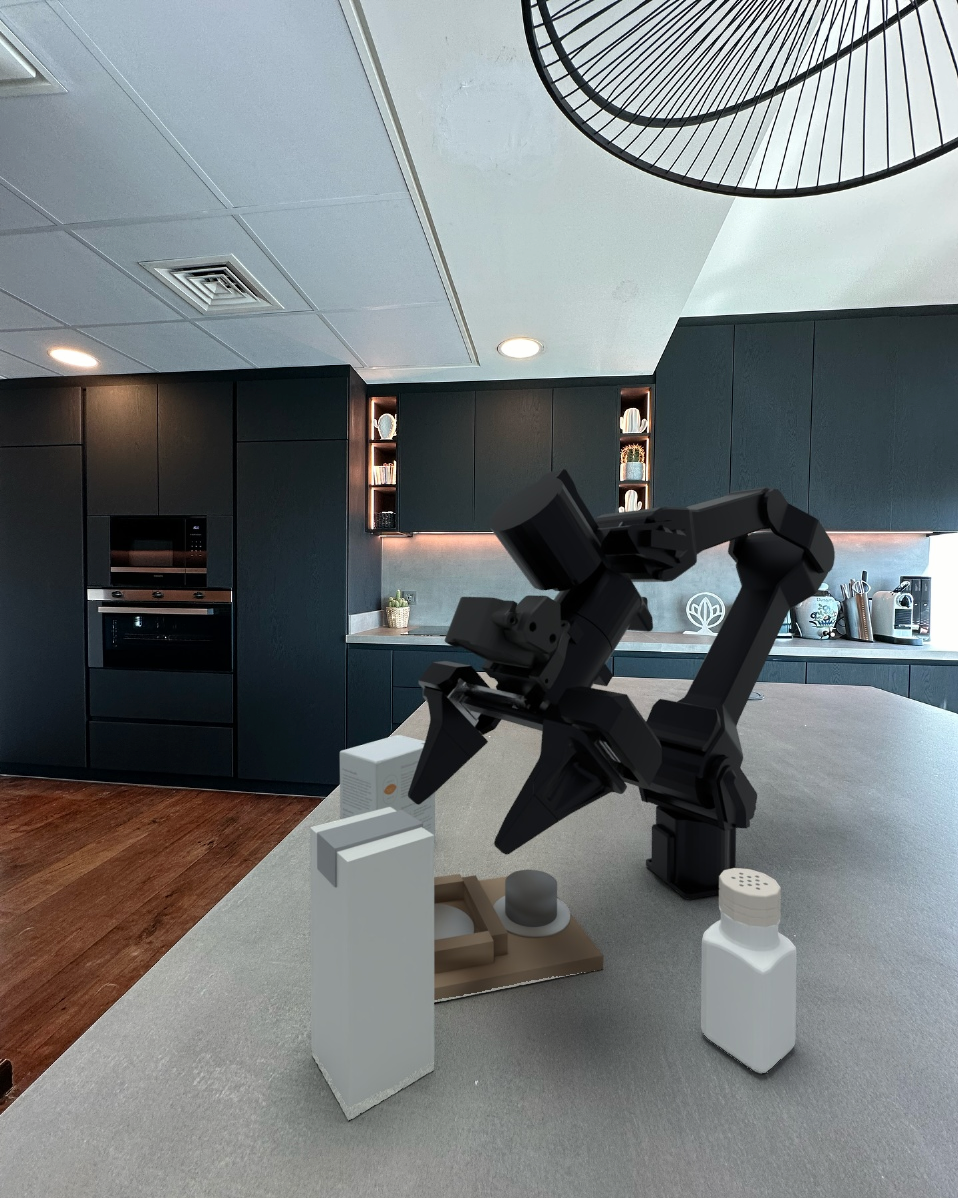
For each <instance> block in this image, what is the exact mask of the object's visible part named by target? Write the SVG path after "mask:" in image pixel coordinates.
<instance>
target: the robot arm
mask: <svg viewBox="0 0 958 1198" xmlns="http://www.w3.org/2000/svg"><path fill="white" fill-rule="evenodd" d="M488 526H489V528H490V530H491V531H492V533H493V534H494V535H495V537H496V538H497V540H498V541H499V542H500V544H501V545H502V547H504V549H505V551H506V552H507V554H509V556H510V558H511V559H512V560H513V562H514V563H515V565H516V566H517V568H518V569H519V570H520V571H521V573H522V574H523V576H524V577H525V578H526V579H527V581H528V582H529V584H530V585H531V586H532V587H533V588H534V589H535V590H540V591H550V590H553V591H555V592H558V593H557V594H556V596H555V597H554V599H553V598H551V597H549V596H547V595H525V596H523V598H522V599H521V600H520V601H519V602H516V601H514V600H503V599H501V598H498V597H485V596H460V599H459V600H458V604H457V605H456V609H455V611H454V614H453V617H452V619H451V623H450V625H449V628H448V629H447V633H446V636H445V637H444V643H445V644H447V645H449V646H451V647H453V648H458V647H460V648H462V649H464V650H466V651H468V652H470V653H472V654H473V655H476V656H477V657H480V658H482V659H484V660H485V661H484V663H482V665H481V669H482V670H483V672H485V673H486V675H487V676H488V677H489V678H491V679H494V680H495V681H496V682H497V684H496V685H495V689H494V688H491V687H490V686H489V684H488V683H487V682H486V681H485V680H484V678H483V677H482V676H481V675H480V674H479V672H478V671H476V669H475V667H473V665H470V664H464V663H458V662H452V661H447V660H443V661H435V662H432V663H430V665H429V666H428V667H427V669H426V670H425V671H424V672H423V674H422V675H421V676H420V678H419V679H418V680H417V681H418V685H419V686H420V687H421V688H422V698H423V699H424V700H425V702H426V703H427V706H428V712H429V719H430V720H429V726H428V730H427V733H426V737H425V740H424V741H425V743H424V746H423V749H422V752H421V755H420V758H419V761H418V764H417V767H416V770H415V773H414V776H413V779H412V782H411V785H410V788H409V791H408V797H409V798H410V799H411V800H412V801H413V802H414V803H415V804H417V805H419V804H421V803H422V802H424V801H425V800H426V799H427V798H429V797H430V796H431V795H432V794H433V793H435V794H436V792H437V791H438V790H439V789H440V788H441V787H442V786H443V785H445V784H446V783H447V782H448V781H449V780H450V779H451V778H452V777H453V776H455V774H456V773H458V771H460V770H461V768H463V767H464V765H466V763H467V762H469V761H470V760H471V759H472V758H473V757H474V756H475V755H476V754H478V752H480V751H481V750H482V749H483V748H484V747H486V745H487V744H488V742H489V741H488V739H487V738H485V737H484V736H485V735H487V734H488V733H490V732H492V731H494V730H496V728H497V727H498V725H499V724H500V723H501V721H505V722H509V723H513V724H515V725H519V726H524V727H527V728H528V729H529V728H530V729H534V730H537V731H540V732H541V746H540V755H539V757H538V759H537V760H536V763H535V765H534V767H533V768H532V770H531V771H530V773H529V775H528V776H527V779H526V781H525V782H524V784H523V786H522V787H521V789H520V791H519V793H518V794H517V796H516V798H515V800H514V801H513V803H512V805H511V807H510V809H509V810H508V811H507V812H506V813H507V814H506V815H505V817H504V819H503V821H502V824H501V825H500V828H499V829H498V832H497V834H496V836H495V838H494V842H493V845H494V847H495V848H496V849H497V850H498V851H499V852H500V853H501V854H504V855H506V856H507V855H510V854H511V853H513V852H515V850H517V849H519V848H520V847H522V846H523V845H525V844H526V843H528V842H529V841H531V840H532V839H534V838H535V837H537V836H539V835H540V834H541V833H543V832H545V831H546V830H548V829H549V828H551V827H553V826H554V825H556V824H557V823H559V822H561V821H562V820H563V819H565V818H567V817H569V816H570V815H571V814H574V813H575V812H577V811H578V810H581V809H582V808H585V807H586V806H588V805H590V804H592V803H594V802H595V801H598V800H599V799H601V798H603V797H605V796H606V795H608V794H610V793H615V794H619V795H622V794H624V793H625V792H626V790H627V788H628V786H627V784H628V785H631V786H632V785H633V786H635V787H637V788H638V791H639V794H640V795H639V796H640V799H641V801H642V802H644V803H646V804H647V803H649V804H652V805H655V823H654V824H652V826H651V857H650V858H647V859H645V866H646V867H647V868H648V869H649V870H650V871H651V872H653V873H654V874H655V875H656V876H658V877H659V878H660V879H661V880H662V881H664V882H665V883H666V884H667V885H668V886H669V887H670V888H672V889H673V890H674V891H675V892H676V893H678V894H679V895H680V896H681V897H682V898H684V899H687V900H692V899H698V898H705V897H710V896H716V895H719V876H720V875H721V873H722V872H723V871H724V870H728V869H732V868H737V865H736V863H737V829H748V828H750V827H751V825H750V824H751V820H752V819H754V816H755V812H756V809H757V801H758V793H757V791H756V790H755V787H754V786H753V785H752V784H751V782H750V780H749V779H748V778H747V776H746V773H744V771H743V770H742V768H741V766H742V764H743V760H744V753H743V748H742V745H741V740H740V736H739V732H738V728H737V726H738V723H739V720H740V718H741V717H742V713H743V712H744V709H745V708H746V705H747V703H748V701H749V699H750V697H751V694H752V692H753V691H754V690H753V689H754V687H755V686H756V683H757V681H758V680H759V677H760V674H761V672H762V671H763V668H764V666H765V664H766V662H767V659H768V657H769V655H770V652H772V648H773V646H774V644H775V642H776V640H777V637H778V636H779V633H780V631H781V629H782V627H783V624H784V622H785V620H786V618H787V616H788V614H789V612H790V610H791V609H793V608H795V607H796V606H798V605H800V604H801V603H804V602H805V601H806V600H808V599H810V598H811V597H814V596H815V595H816V594H817V592H818V591H819V590H820V588H821V586H822V584H823V583H824V582H825V580H826V578H827V576H828V574H829V573H830V572H831V571H832V570H833V567H834V565H835V560H836V559H835V558H836V557H835V555H836V554H835V553H836V551H835V546H834V543H833V541H832V539H831V538H830V536H829V535H828V533H827V530H826V529H825V528H824V527H823V525H822V524H821V522H820V520H819V519H818V518H816V517H815V516H813V515H812V514H809V513H807V512H805V511H804V510H802V509H800V508H798V507H796V506H795V505H793V504H791V503H789V502H788V501H787V499H786V498H785V496H784V495H783V493H782V492H781V491H780V490H779V488H778V489H777V488H772V487H769V486H767V487H766V486H765V487H757V488H752V489H751V488H750V489H744V490H743V489H742V490H735V491H731V492H729V493H728V494H726V495H724V496H722V497H718V498H713V499H710V500H707V501H703V502H700V503H699V502H698V503H697V504H692V505H689V506H686V507H684V506H683V507H682V506H680V507H679V506H660V507H652V508H645V509H637V510H629V511H628V510H627V511H621V512H620V511H619V512H614V513H613V512H612V513H604V514H603V513H602V514H601V515H599V516H597V517H595V518H594V516H593V515H592V513H591V512H590V510H589V508H588V507H587V505H586V503H585V502H584V500H583V499H582V497H581V495H580V494H579V492H578V489H577V486H576V484H575V482H574V480H573V479H572V476H571V475H570V474H569V472H568V471H567V469H565V468H562V469H558V470H556V469H555V470H554V471H548V472H545V473H543V475H542V476H541V477H540V478H539V479H538V480H537V481H536V482H534V483H532V484H530V485H527V486H525V487H524V488H523V489H522V490H519V491H518V492H517V493H516V494H514V495H512V496H511V497H510V498H509V499H505V500H502V502H501V503H499V505H498V506H497V507H496V508H495V510H494V511H493V513H492V514H491V516H490V517H489V522H488ZM761 530H767V531H761ZM768 530H769V531H768ZM725 543H728V549H727V554H728V556H730V557H731V559H732V560H733V561H734V562H735V569H736V572H737V576H738V579H739V583H740V589H739V592H738V593H737V595H736V597H735V600H734V601H733V603H732V605H731V607H730V609H729V611H728V612H727V615H726V617H725V618H724V619H723V620H724V621H723V622H722V625H721V626H720V628H719V630H718V632H717V634H716V636H715V637H714V640H713V642H712V643H711V646H710V647H709V649H708V651H707V654H706V655H705V656H704V658H703V661H702V663H701V665H700V667H699V668H698V671H697V672H696V674H695V676H694V679H693V681H691V684H690V686H689V688H688V690H687V692H686V693H685V695H684V697H682V698H681V699H679V700H678V701H675V700H670V699H664V698H658V700H657V701H656V702H655V703H654V704H652V707H651V710H650V712H649V714H648V717H647V719H646V720H645V718H644V717H643V715H642V713H641V712H640V711H639V709H638V708H637V707H636V706H635V704H634V703H633V701H632V700H631V698H630V697H629V695H628V694H627V693H621V692H615V691H610V690H606V689H605V690H604V689H600V688H599V689H598V688H594V687H593V685H596V686H602V687H608V685H609V683H610V681H611V680H612V679H613V677H614V674H613V673H612V671H611V670H610V669H609V667H608V666H607V663H608V662H609V660H610V657H612V655H613V654H614V651H615V650H616V648H617V647H618V645H619V644H620V642H621V640H622V638H623V637H624V636H625V633H627V631H634V632H636V631H637V632H645V633H646V632H647V633H649V632H651V631H653V629H654V622H653V619H654V618H653V616H652V614H651V612H650V610H649V605H648V604H649V603H648V602H649V601H648V597H646V596H642V595H641V593H640V592H639V591H638V589H637V587H636V585H635V584H634V583H668V582H672V581H674V580H676V579H678V578H679V577H680V576H682V575H683V574H684V573H686V572H687V571H688V570H690V569H691V568H693V567H694V566H695V565H696V564H697V562H698V555H699V554H701V553H702V552H703V551H705V550H706V551H707V550H709V549H712V548H714V547H717V546H719V545H722V544H725Z"/></svg>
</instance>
